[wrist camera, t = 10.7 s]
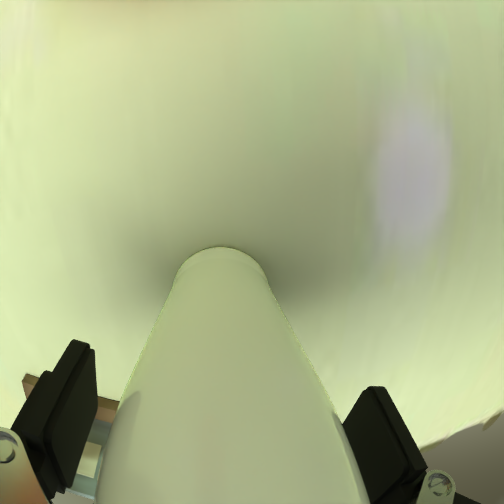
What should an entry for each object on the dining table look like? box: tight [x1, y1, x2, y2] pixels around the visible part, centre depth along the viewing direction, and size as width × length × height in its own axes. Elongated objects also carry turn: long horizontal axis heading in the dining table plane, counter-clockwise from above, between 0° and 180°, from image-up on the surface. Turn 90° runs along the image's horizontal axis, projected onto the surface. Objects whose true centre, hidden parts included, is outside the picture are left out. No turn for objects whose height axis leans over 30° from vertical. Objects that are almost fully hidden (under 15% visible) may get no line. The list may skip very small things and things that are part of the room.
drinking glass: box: [93, 247, 370, 504], centre depth 12 cm, size 7×7×15 cm
